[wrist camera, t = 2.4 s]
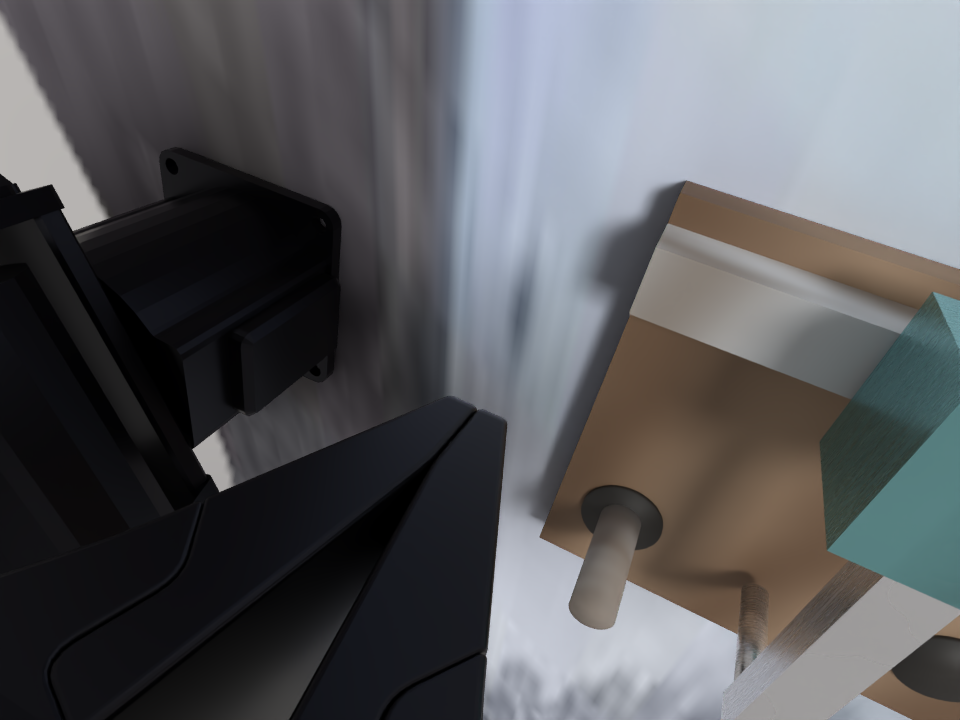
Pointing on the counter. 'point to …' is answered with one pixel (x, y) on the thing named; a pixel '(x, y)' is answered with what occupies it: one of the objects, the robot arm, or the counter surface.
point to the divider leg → (871, 537)
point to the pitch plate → (740, 424)
